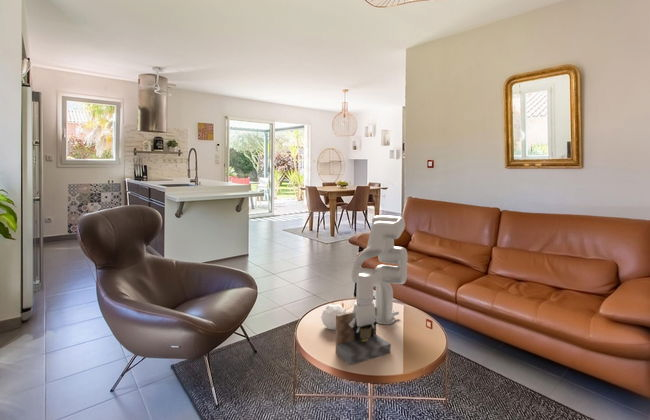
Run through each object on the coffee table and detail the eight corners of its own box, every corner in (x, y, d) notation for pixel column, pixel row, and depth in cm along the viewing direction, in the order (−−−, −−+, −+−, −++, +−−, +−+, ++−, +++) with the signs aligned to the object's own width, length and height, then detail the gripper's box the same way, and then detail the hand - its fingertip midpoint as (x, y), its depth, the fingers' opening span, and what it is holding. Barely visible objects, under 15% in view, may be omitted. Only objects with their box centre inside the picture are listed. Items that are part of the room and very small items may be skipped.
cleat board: (374, 341, 178) (375, 306, 176) (390, 353, 167) (391, 315, 165) (335, 352, 167) (335, 315, 165) (350, 365, 156) (350, 325, 154)
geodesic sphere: (327, 327, 180) (339, 302, 184) (310, 318, 190) (322, 295, 194) (343, 337, 188) (355, 313, 192) (326, 328, 199) (338, 305, 203)
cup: (354, 337, 170) (354, 321, 169) (370, 337, 170) (370, 320, 169) (357, 345, 162) (357, 328, 161) (373, 344, 163) (373, 328, 162)
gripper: (375, 294, 171) (374, 330, 173) (344, 301, 163) (343, 338, 165) (385, 299, 165) (384, 337, 167) (353, 306, 156) (352, 345, 159)
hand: (363, 337), depth 166 cm, fingers closed on cup, 6 cm apart
